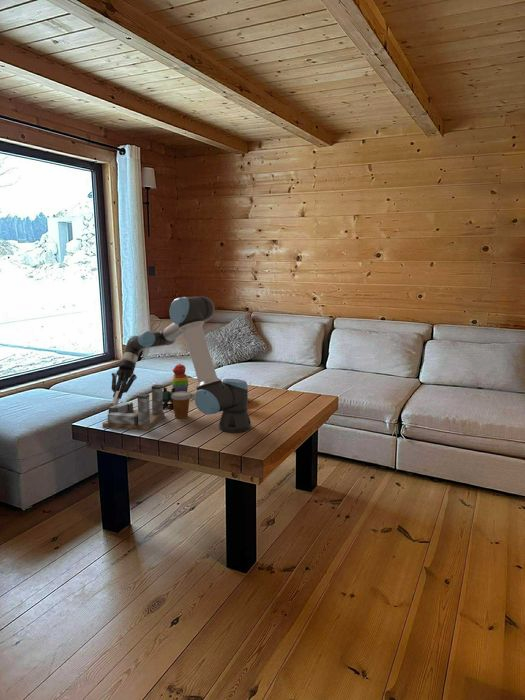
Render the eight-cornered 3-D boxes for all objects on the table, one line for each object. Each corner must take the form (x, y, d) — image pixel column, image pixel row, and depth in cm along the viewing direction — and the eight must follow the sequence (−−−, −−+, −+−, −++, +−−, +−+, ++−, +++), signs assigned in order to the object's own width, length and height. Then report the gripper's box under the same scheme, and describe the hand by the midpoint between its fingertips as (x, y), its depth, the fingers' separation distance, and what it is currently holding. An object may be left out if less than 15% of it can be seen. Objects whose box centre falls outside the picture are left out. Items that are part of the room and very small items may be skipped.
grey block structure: (164, 415, 244) (163, 384, 241) (147, 430, 223) (146, 396, 220) (122, 412, 247) (120, 382, 244) (101, 427, 226) (99, 393, 223)
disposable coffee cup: (194, 416, 243) (194, 393, 241) (178, 421, 236) (178, 397, 234) (183, 412, 250) (183, 390, 247) (167, 416, 243) (167, 393, 241)
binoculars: (156, 392, 250) (162, 385, 260) (157, 411, 253) (163, 404, 263) (173, 393, 249) (178, 386, 259) (174, 412, 252) (179, 404, 262)
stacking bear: (171, 391, 288) (170, 362, 285) (188, 391, 290) (187, 362, 286) (171, 396, 277) (170, 366, 274) (188, 396, 279) (188, 366, 276)
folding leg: (129, 403, 243) (116, 408, 229) (129, 411, 244) (116, 416, 230) (121, 402, 244) (108, 407, 230) (121, 410, 244) (108, 416, 230)
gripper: (142, 367, 248) (129, 408, 235) (118, 366, 250) (104, 406, 237) (138, 359, 242) (124, 401, 229) (113, 358, 244) (99, 399, 231)
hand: (114, 404), depth 233 cm, fingers closed
